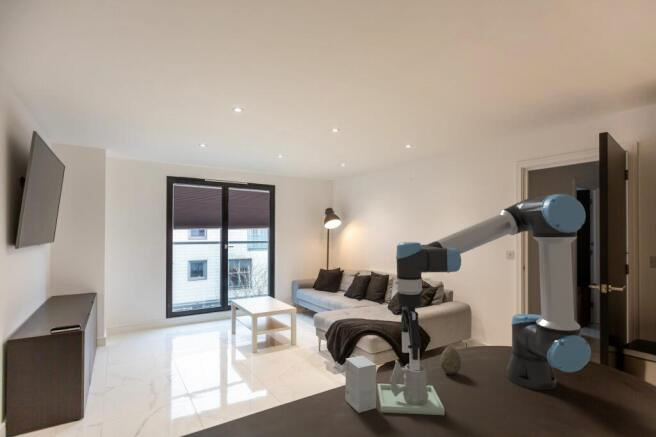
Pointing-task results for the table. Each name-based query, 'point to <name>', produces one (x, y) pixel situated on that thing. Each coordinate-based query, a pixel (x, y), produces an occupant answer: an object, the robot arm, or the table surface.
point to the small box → (360, 383)
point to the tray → (401, 406)
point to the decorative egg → (450, 361)
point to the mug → (410, 384)
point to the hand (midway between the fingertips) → (410, 360)
